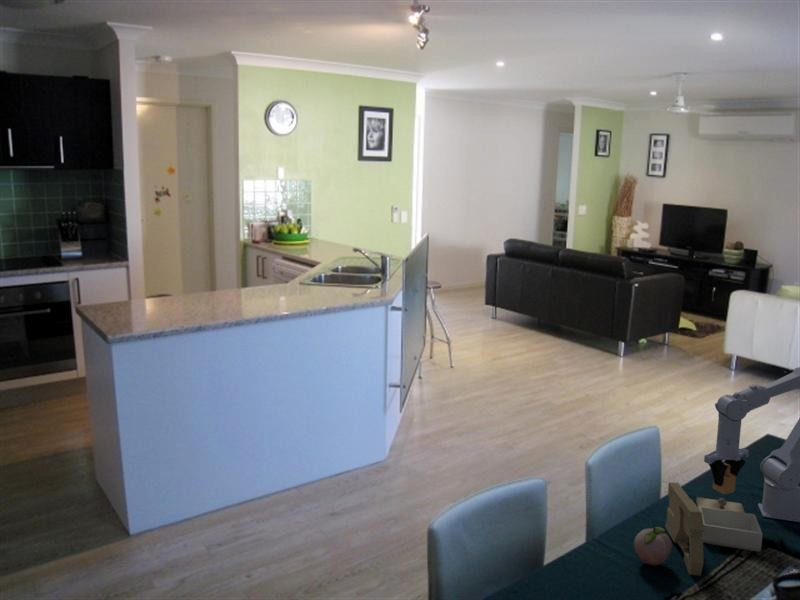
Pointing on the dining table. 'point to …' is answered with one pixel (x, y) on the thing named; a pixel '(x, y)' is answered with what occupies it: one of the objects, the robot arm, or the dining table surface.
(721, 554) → the dining table surface
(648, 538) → the decorative fruit
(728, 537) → the bin
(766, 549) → the dining table surface
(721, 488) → the orange knobbed block
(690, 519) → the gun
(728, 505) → the stud board
